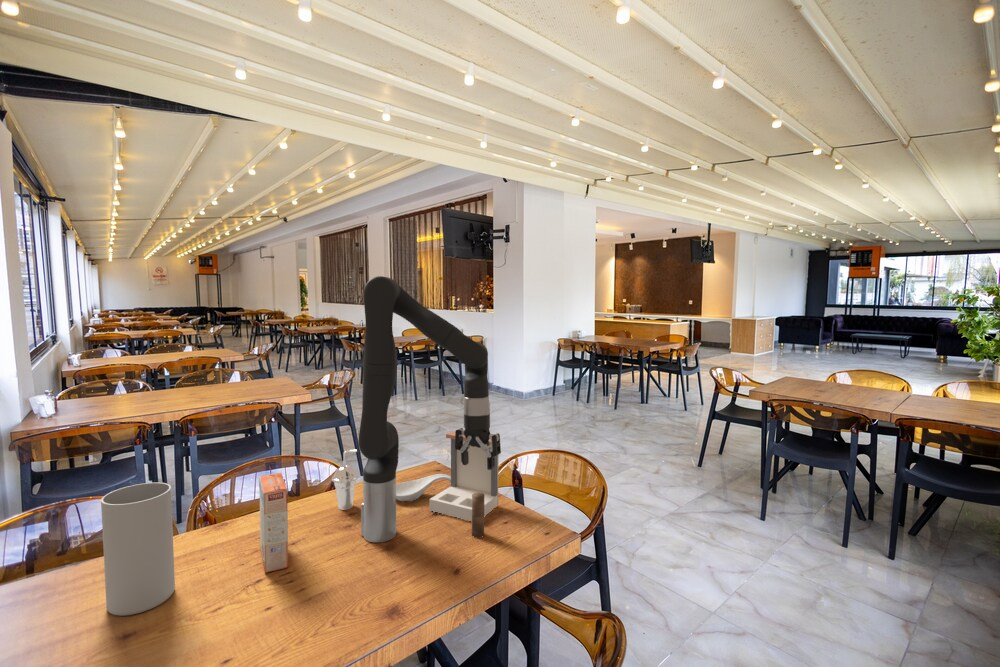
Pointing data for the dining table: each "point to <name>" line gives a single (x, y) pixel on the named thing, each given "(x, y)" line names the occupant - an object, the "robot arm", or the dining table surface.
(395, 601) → the dining table surface
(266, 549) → the cracker box
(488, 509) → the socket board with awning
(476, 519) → the walnut dowel
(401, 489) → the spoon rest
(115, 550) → the cylinder vase
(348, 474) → the cup with straw
